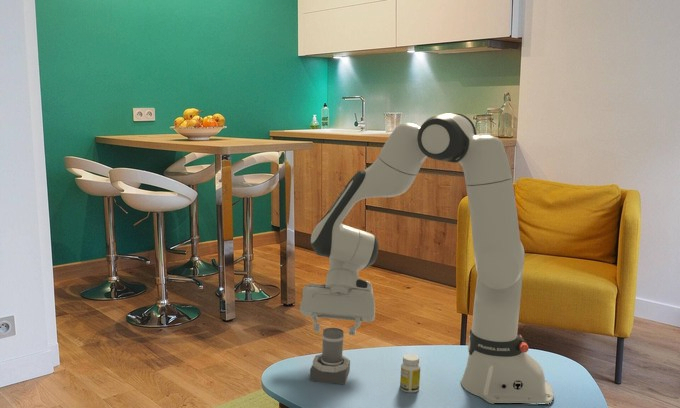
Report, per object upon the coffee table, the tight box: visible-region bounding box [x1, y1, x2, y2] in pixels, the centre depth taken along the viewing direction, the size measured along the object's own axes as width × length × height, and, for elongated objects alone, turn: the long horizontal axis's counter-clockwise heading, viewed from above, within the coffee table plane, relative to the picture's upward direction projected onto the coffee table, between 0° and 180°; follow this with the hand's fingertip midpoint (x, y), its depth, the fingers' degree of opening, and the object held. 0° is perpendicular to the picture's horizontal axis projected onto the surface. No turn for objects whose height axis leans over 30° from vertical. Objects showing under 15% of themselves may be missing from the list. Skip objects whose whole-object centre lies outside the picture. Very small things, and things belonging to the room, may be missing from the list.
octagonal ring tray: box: [309, 353, 351, 385], centre depth 162 cm, size 9×9×4 cm
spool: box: [321, 327, 345, 366], centre depth 161 cm, size 5×5×9 cm
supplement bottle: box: [399, 353, 421, 394], centre depth 156 cm, size 5×5×8 cm
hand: (334, 332), depth 165 cm, fingers open, 8 cm apart
